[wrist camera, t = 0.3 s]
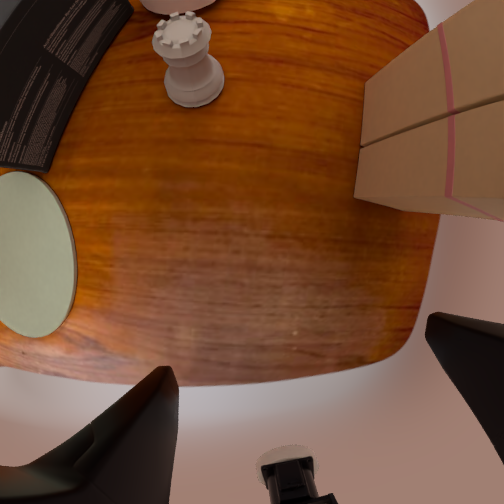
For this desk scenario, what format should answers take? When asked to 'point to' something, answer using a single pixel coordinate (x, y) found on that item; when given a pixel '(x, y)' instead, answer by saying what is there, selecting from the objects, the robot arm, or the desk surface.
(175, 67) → the rook chess piece
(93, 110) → the desk surface
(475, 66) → the tall pink tan block
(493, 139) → the pink-topped tan pillar
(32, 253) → the plate
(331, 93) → the desk surface
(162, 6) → the cup
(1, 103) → the box
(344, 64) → the desk surface
